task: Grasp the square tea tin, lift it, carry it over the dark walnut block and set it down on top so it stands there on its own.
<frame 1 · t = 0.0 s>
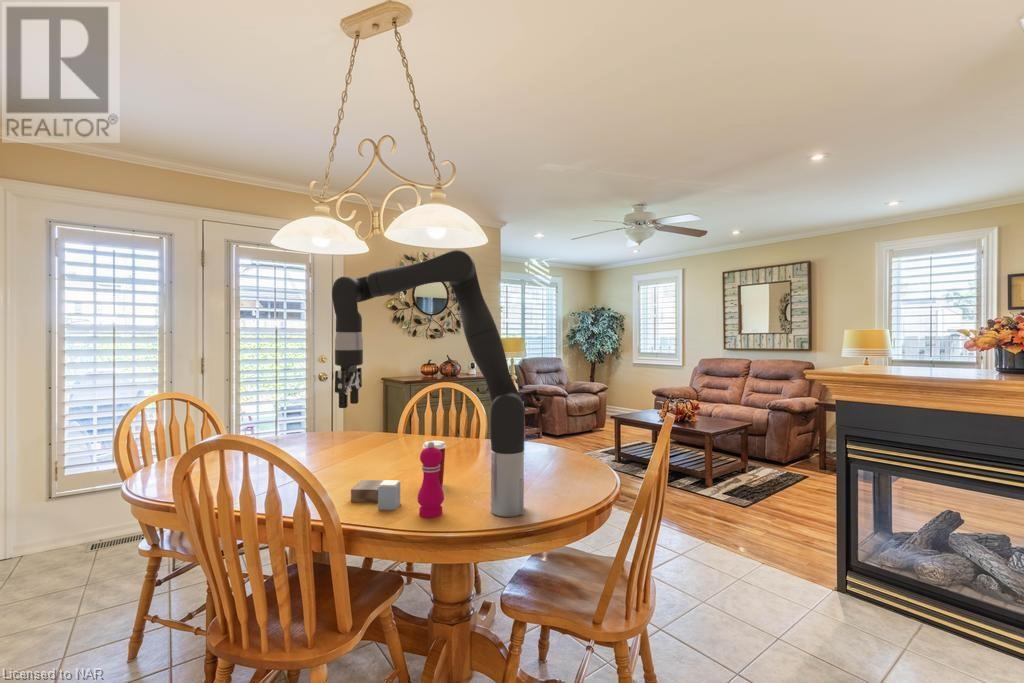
hand: (348, 405, 137), 29 cm above the table, fingers open, 8 cm apart
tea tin: (389, 506, 139), on the table
pepper mill: (430, 514, 134), on the table
paper cup: (434, 485, 159), on the table
walnut block: (370, 497, 148), on the table
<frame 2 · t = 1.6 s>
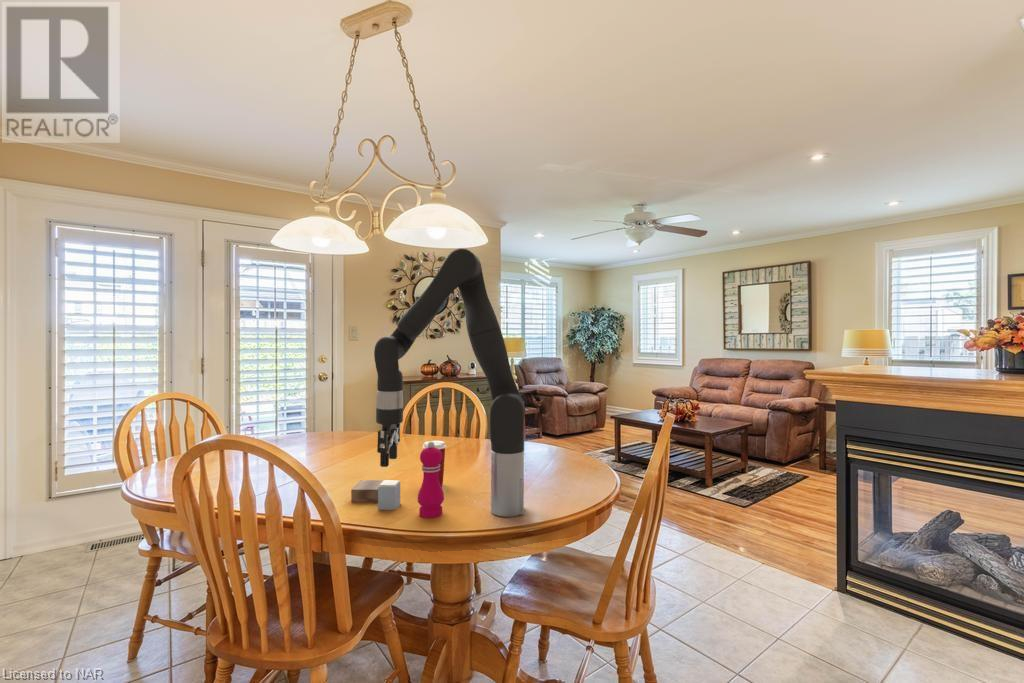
hand: (388, 462, 139), 13 cm above the table, fingers open, 8 cm apart
nothing on the table moved.
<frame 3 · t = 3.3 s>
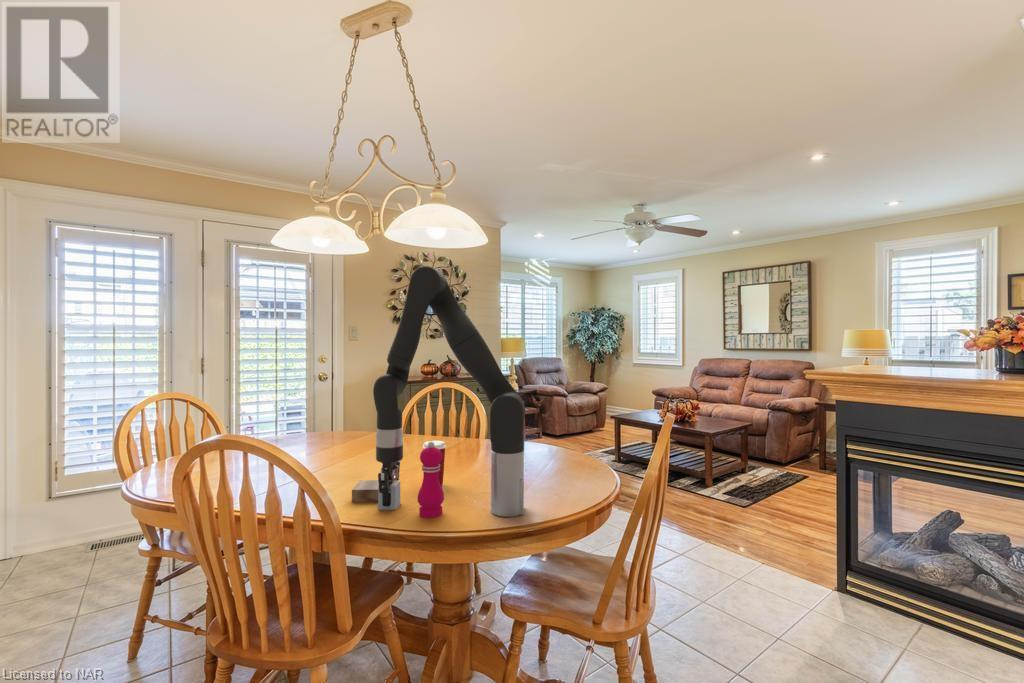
hand: (389, 502, 139), 1 cm above the table, fingers closed on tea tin, 5 cm apart
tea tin: (389, 506, 139), on the table, touching gripper
everything else where it was.
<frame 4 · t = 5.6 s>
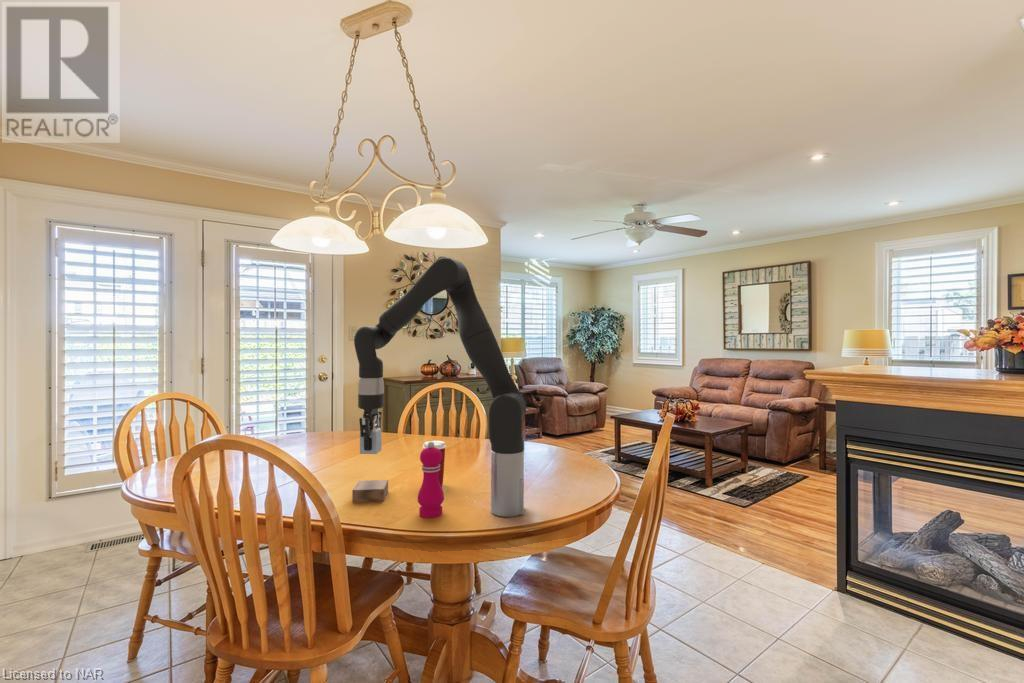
hand: (371, 447, 147), 15 cm above the table, fingers closed on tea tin, 5 cm apart
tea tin: (370, 452, 147), point 14 cm above the table, touching gripper
everything else where it was.
when the fingers open (6 cm above the table, at t = 8.0 s): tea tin drops 1 cm, resting on walnut block.
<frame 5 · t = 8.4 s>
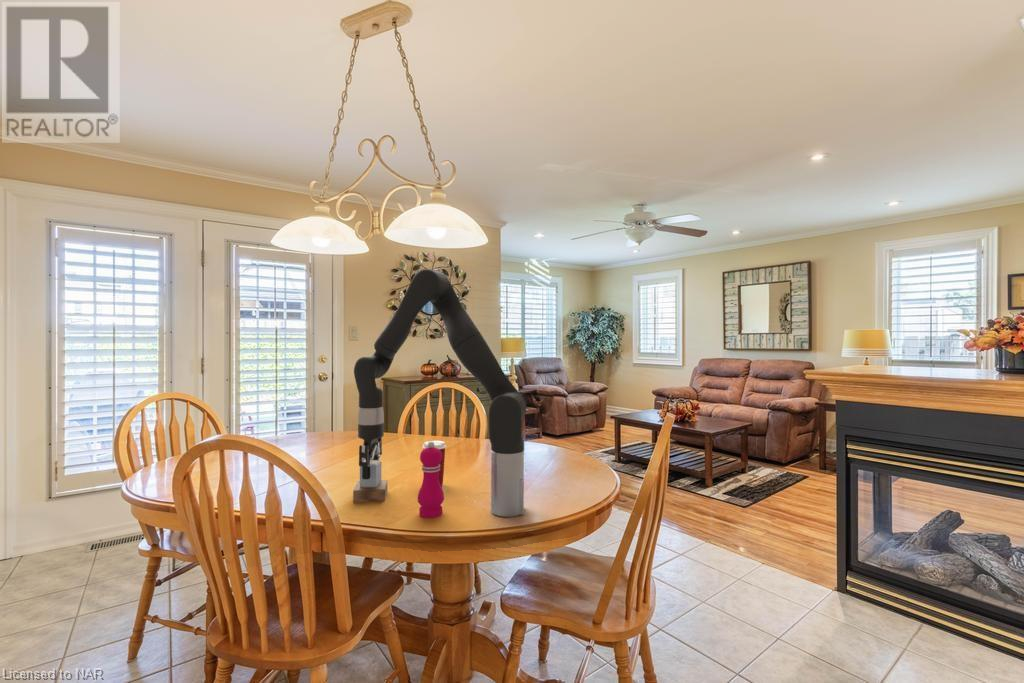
hand: (370, 474, 147), 7 cm above the table, fingers open, 8 cm apart
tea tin: (370, 484, 147), point 4 cm above the table, touching walnut block
walnut block: (370, 498, 148), on the table, touching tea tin
everything else where it was.
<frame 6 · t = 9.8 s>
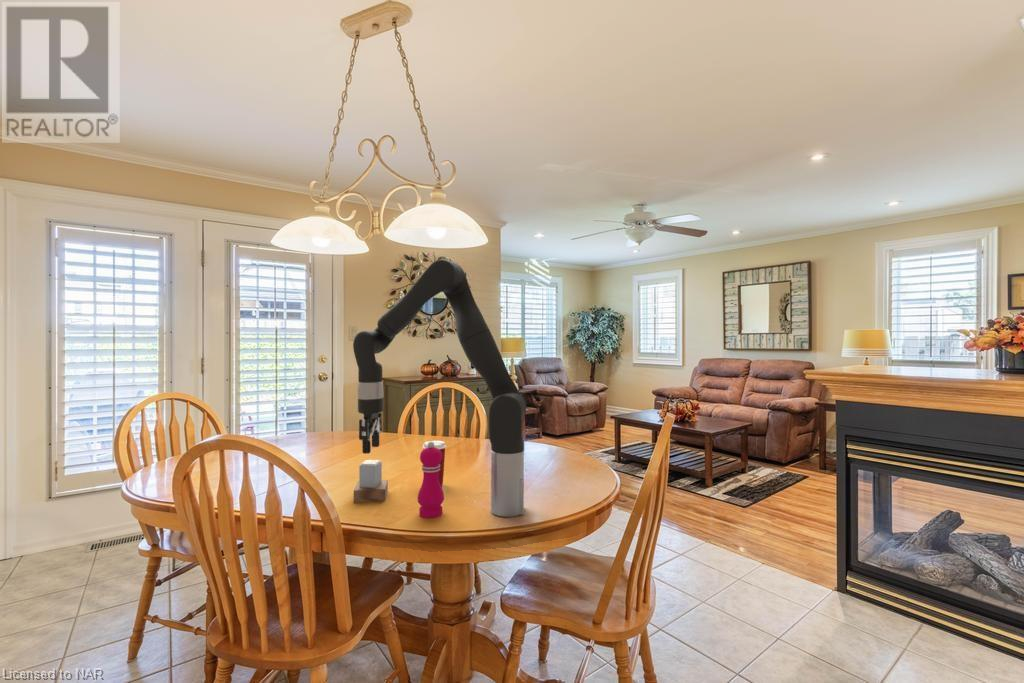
hand: (371, 449, 147), 14 cm above the table, fingers open, 8 cm apart
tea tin: (370, 484, 148), point 4 cm above the table
walnut block: (371, 498, 148), on the table
everything else where it was.
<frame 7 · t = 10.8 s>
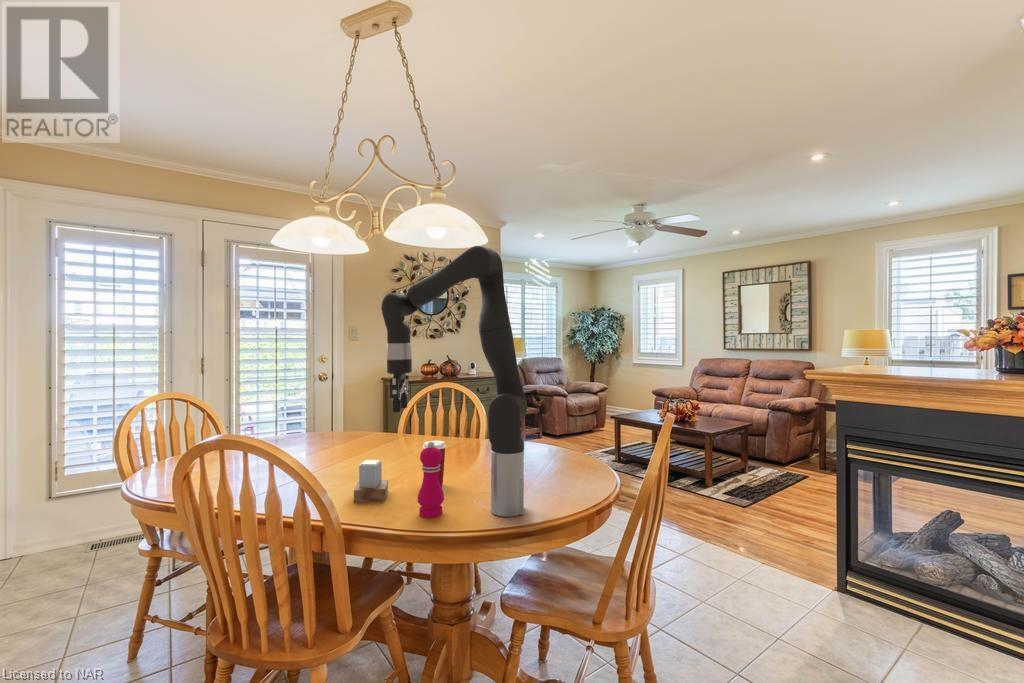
hand: (400, 410, 151), 26 cm above the table, fingers open, 8 cm apart
nothing on the table moved.
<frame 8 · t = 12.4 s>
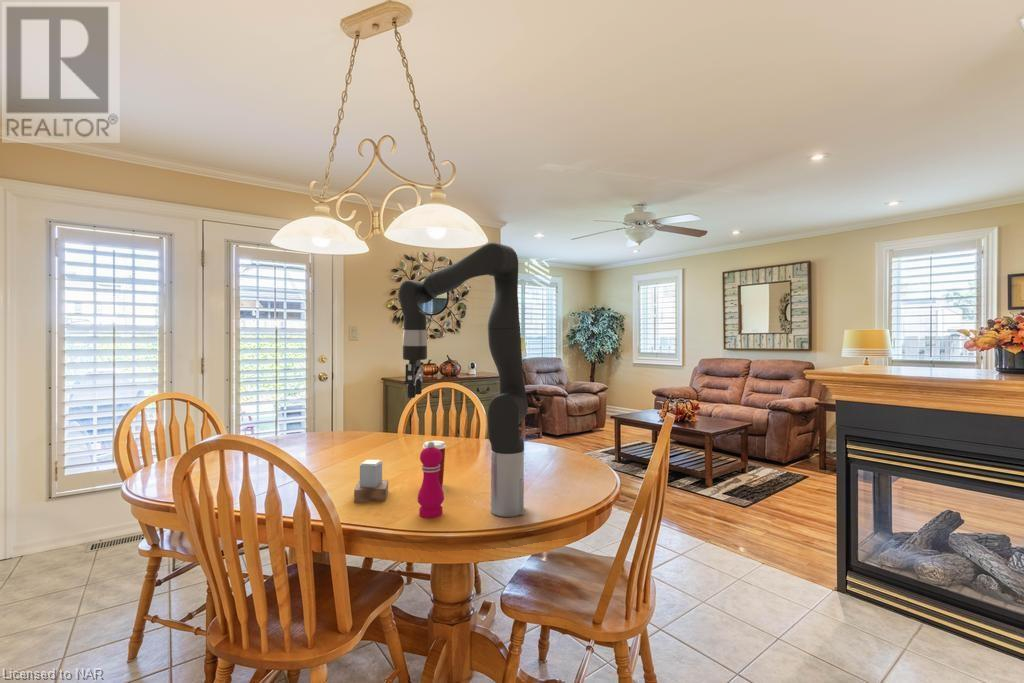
hand: (414, 395, 153), 30 cm above the table, fingers open, 8 cm apart
nothing on the table moved.
at the end: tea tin 0.2 cm off-centre on the walnut block, point 4.0 cm above the walnut block's base; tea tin tilted 0°; the gripper is holding nothing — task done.
